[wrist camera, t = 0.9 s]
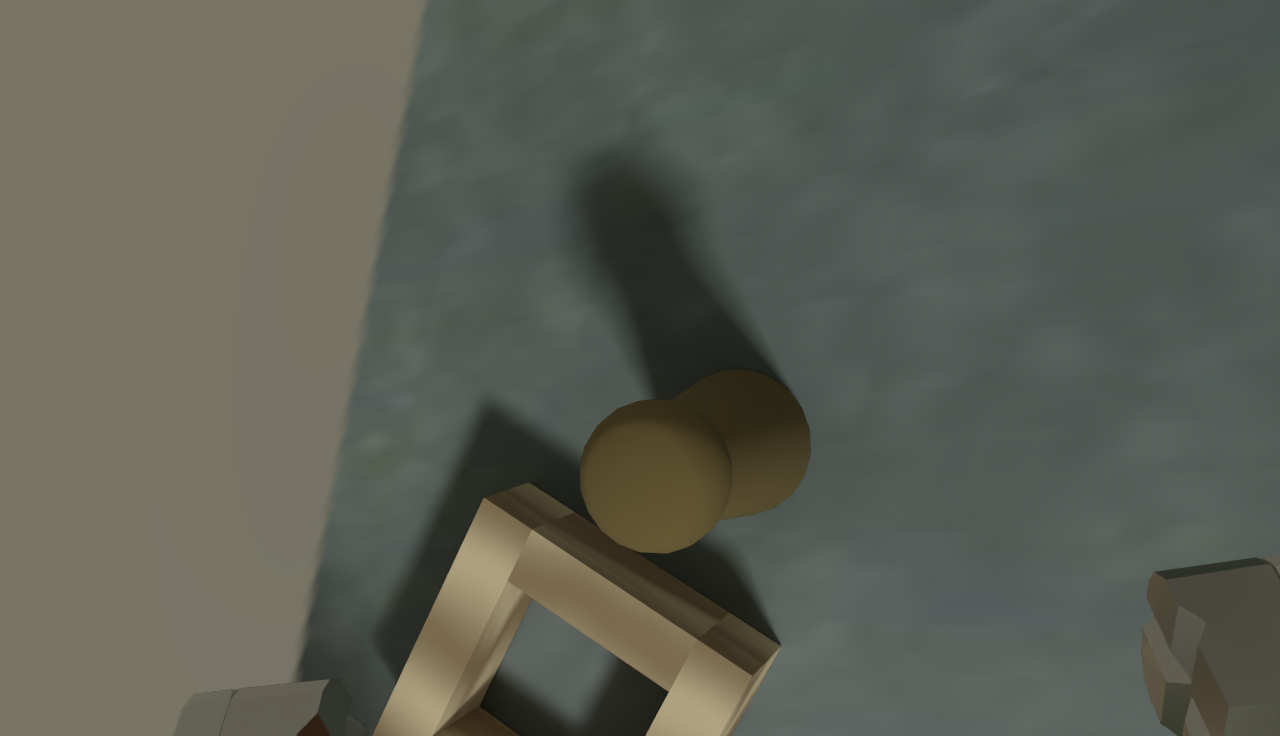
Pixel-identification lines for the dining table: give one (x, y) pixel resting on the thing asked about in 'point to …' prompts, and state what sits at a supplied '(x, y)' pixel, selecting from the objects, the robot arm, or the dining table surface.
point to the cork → (694, 460)
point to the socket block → (588, 600)
